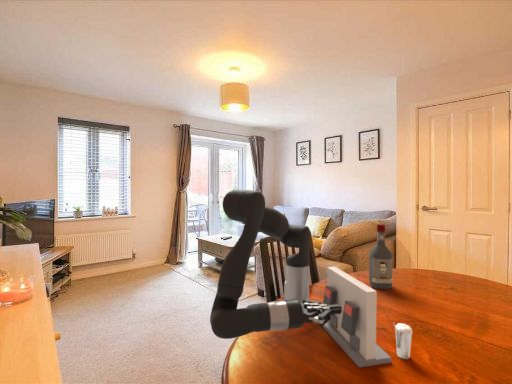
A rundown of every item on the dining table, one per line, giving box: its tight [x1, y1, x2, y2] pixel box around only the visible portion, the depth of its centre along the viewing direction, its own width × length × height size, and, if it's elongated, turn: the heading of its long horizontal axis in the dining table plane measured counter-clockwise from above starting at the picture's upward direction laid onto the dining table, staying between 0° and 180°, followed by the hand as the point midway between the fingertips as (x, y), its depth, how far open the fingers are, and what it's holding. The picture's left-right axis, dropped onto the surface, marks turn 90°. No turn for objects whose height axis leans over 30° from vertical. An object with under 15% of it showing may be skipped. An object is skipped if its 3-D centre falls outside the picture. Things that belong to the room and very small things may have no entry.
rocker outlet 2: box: [341, 301, 359, 336], centre depth 85 cm, size 2×5×8 cm, turn 13°
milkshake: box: [393, 322, 413, 360], centre depth 84 cm, size 4×5×10 cm
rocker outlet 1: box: [322, 285, 337, 305], centre depth 97 cm, size 2×5×8 cm, turn 13°
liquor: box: [368, 223, 393, 290], centre depth 140 cm, size 9×9×30 cm
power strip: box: [321, 266, 392, 368], centre depth 92 cm, size 10×25×20 cm, turn 12°
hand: (340, 308), depth 84 cm, fingers closed
